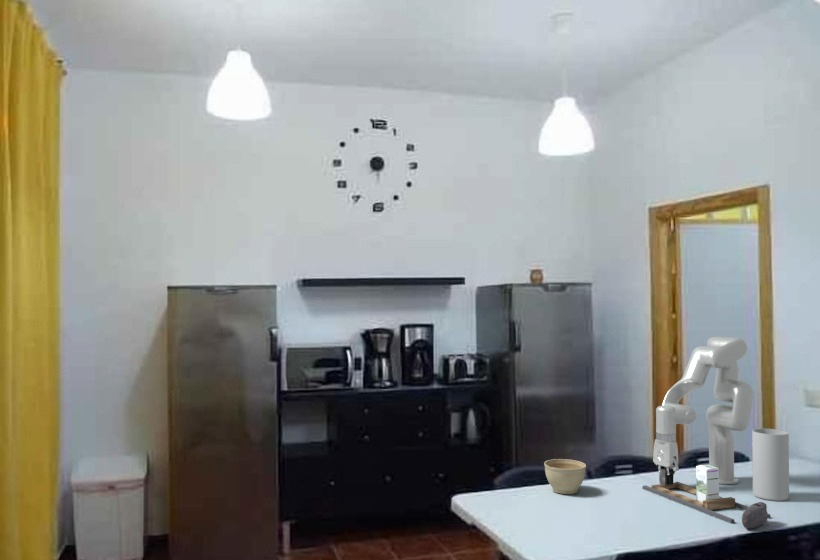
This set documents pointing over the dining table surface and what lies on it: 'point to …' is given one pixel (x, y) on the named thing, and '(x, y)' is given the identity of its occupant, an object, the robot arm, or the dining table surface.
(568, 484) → the planter bowl
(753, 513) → the perforated stone tool
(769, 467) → the cylinder vase
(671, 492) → the frame
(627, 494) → the dining table surface
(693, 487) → the guide rails
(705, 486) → the syrup box
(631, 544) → the dining table surface
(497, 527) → the dining table surface
